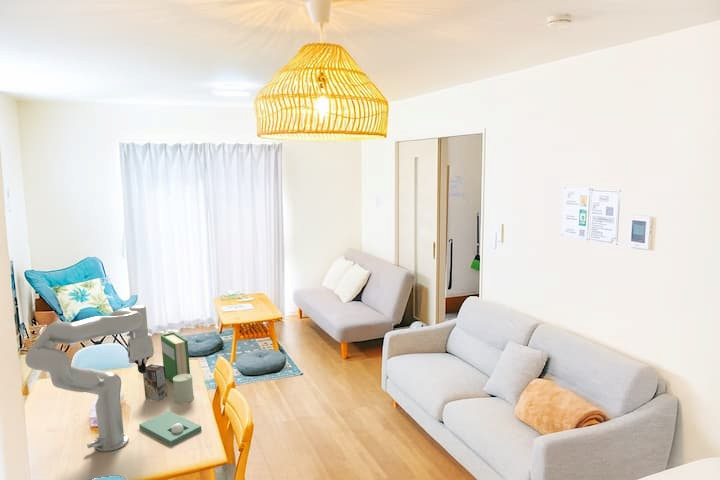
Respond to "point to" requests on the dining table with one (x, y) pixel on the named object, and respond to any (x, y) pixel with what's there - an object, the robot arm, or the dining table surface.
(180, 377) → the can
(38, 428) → the dining table surface
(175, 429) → the ball
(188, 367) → the hardback book
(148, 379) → the coffee box
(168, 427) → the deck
